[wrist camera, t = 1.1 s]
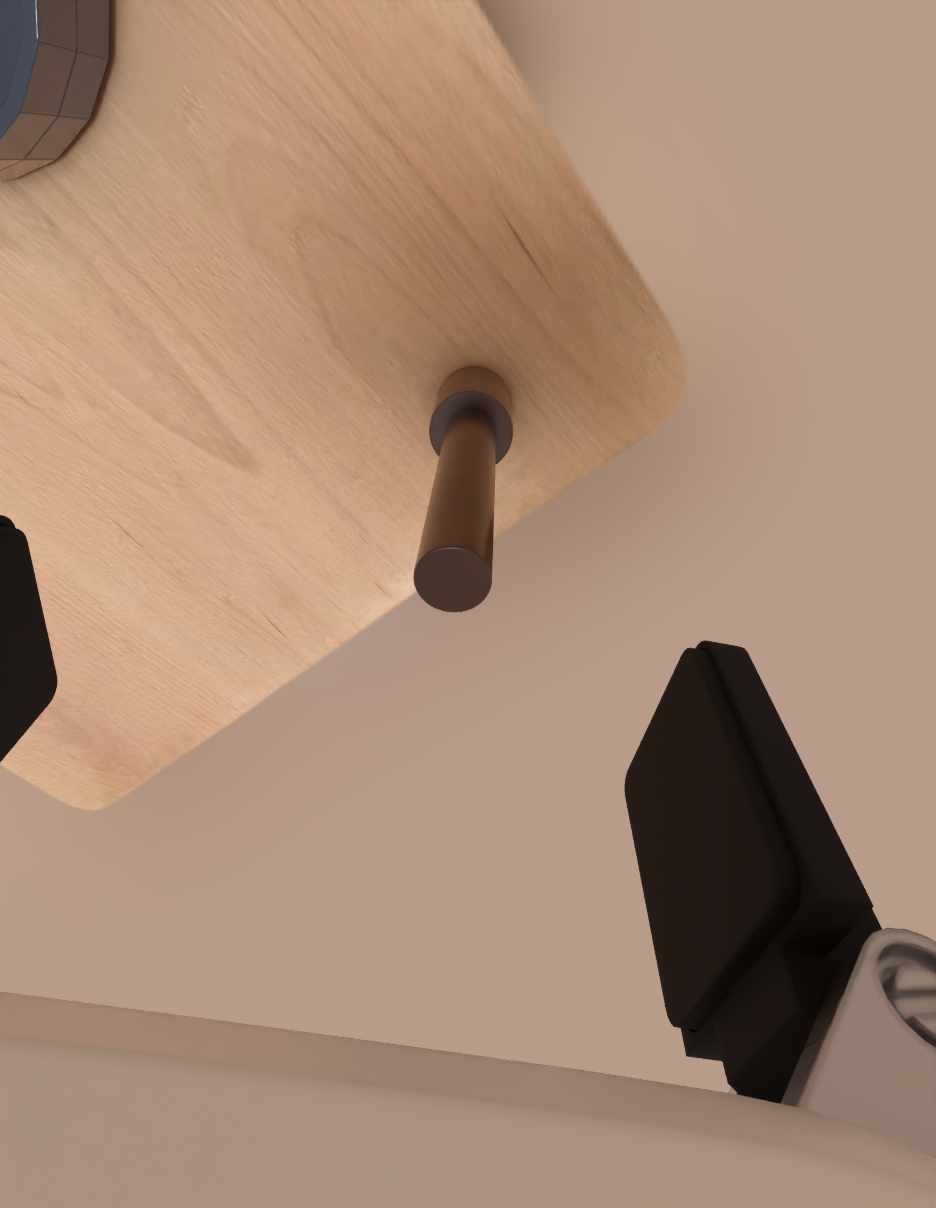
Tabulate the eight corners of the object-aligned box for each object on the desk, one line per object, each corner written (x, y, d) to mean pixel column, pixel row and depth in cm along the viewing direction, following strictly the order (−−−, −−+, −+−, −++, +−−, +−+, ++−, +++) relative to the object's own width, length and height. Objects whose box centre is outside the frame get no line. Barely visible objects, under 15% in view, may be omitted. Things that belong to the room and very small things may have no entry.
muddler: (499, 355, 30) (495, 507, 17) (520, 429, 32) (531, 616, 19) (426, 379, 31) (368, 542, 18) (451, 449, 33) (415, 644, 20)
